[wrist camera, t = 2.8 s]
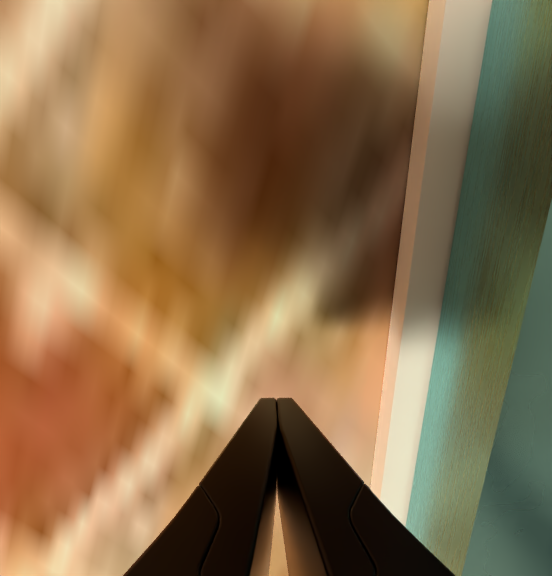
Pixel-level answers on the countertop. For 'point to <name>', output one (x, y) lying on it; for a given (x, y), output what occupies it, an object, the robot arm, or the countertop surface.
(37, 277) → the countertop surface
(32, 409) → the countertop surface
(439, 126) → the cream base board
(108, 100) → the countertop surface
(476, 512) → the teal hinge leaf
